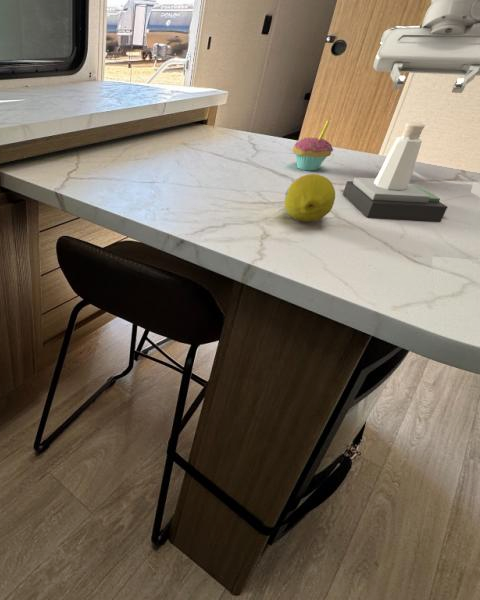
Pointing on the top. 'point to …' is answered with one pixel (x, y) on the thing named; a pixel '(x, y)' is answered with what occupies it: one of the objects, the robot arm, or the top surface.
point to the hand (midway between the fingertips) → (426, 88)
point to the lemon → (309, 198)
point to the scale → (394, 201)
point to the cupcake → (312, 151)
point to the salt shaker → (401, 159)
